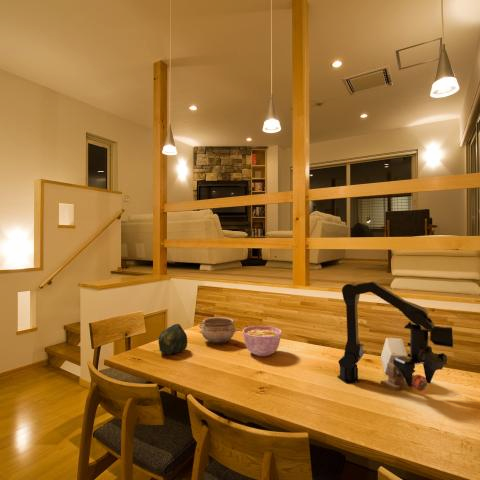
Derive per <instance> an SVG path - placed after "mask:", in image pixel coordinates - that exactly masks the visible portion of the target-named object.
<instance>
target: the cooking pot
mask: <svg viewBox="0 0 480 480" xmlns="http://www.w3.org/2000/svg"><path fill="white" fill-rule="evenodd" d="M234 322H235V321H234V319H233V318H230V317H226V316H212V317H207V318H204V319H203V320H202V323H199V324H198V327H199V329H200V330H201V335H202V337H203V338H204V339H205V340H207V341H208V342H210V343H212V344H213V343H214V345H221V343H222V344H224V343H226V342H227V341H229V340H231V339H232V338H233V337H234V335H235V334H236V332H238V331H239V328H235V325H234Z"/></svg>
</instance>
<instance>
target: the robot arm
mask: <svg viewBox="0 0 480 480" xmlns="http://www.w3.org/2000/svg"><path fill="white" fill-rule="evenodd" d="M341 292H342V293H341V294H342V298H343V301H344V304H345V309H346V310H345V311H346V312H345V313H346V337H347V339H346V343H345V348H344V354H343V356H342V357H341V358H340V359H339V360H338V361H337V362H338V365H339V375H337V378H338V379H340V380H341V381H343V382H344V383H346V384H351V383H359V382H360V381H361V380H360V379H359V368H358V364H357V363H358V362H360V360H361V359H362V358H363V355H364V354H365V351H364V346H365V344H364V343H361V342H360V339H359V317H358V313H359V312H358V304H359V300H360V295H362V294H366V293H372V294H374V295H375V296H376V297H378V298H380V299H382V300H383V301H384V302H386V303H388V304H390V305H391V306H392V307H394V308H396V309H397V310H399V311H400V312H401V313H402V314H403V316H405V318H407V319H408V320H409V321H408V322H407V323H406V324H405V325H404V326H403V328H404V329H407V330H409V333H410V334H409V337H410V338H409V339H410V342H407V347H409V349H410V351H409V353H407V358H405V357H396V358H394V365H395V366H397V367H398V368H399V369H400V371H401V372H402V374H403V376H404V378H405V381H406V382H407V385H408V386H409V388H412V387H411V386H412V377H413V374H414V373H415V372H416V370H415V368H416V365H422V366H423V372H424V377H425V378H426V380H427V384H431V382H432V380H433V378H434V375H435V373H436V371H437V370H438V371H439V370H442V369H443V367H444V366H446V365H448V357H447V354H445V353H442V352H441V353H435V352H433V349H432V346H431V345H429V340H430V342H432V344H433V345H435V346H441V347H447V348H452V349H453V348H454V334H453V327H451V326H442V325H435V322H434V321H433V320H432V319H431V317H430V315H429V311H428V310H427V309H426V308H425V307H424V306H421V305H418V304H416V303H414V302H411V301H408V300H405V299H404V298H402V297H401V296H399V295H398V294H396V293H394V292H392V291H391V290H389V289H388V288H386V287H384V286H383V285H381V284H379V283H378V282H377V281H374V280H371V281H369V282H362V283H356V282H349V283H346V284H344V285H343V286H342V288H341ZM429 333H430V334H429ZM429 335H430V337H429ZM429 338H430V339H429ZM409 358H410V359H409Z"/></svg>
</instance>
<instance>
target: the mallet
mask: <svg viewBox="0 0 480 480" xmlns="http://www.w3.org/2000/svg"><path fill="white" fill-rule="evenodd" d="M397 374H398V375H400V376H402V377H404V376H403V374H402V372H401V371H400V370H398V369H397ZM427 385H428V383H427V380H426V378H425V376H424V375H421V374H415V375H414V376H412V386H413V387H412V388H413V389H415V390H417V391H419V392H423V391H424V390H425V389H426V388H427V387H428V386H427Z"/></svg>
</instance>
